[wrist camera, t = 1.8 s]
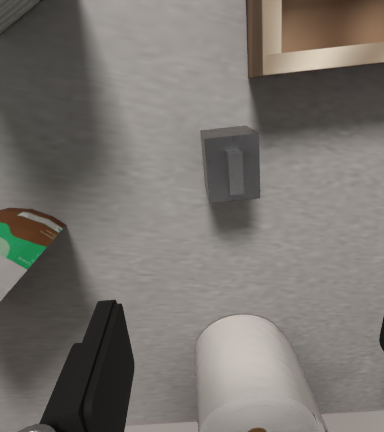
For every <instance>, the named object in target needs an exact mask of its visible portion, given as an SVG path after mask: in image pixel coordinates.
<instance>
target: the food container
mask: <svg viewBox="0 0 384 432" xmlns="http://www.w3.org/2000/svg"><path fill="white" fill-rule="evenodd" d="M65 226H66V225H65V224H64V223H62V222H61V221H59V220H57V219H56V218H54V217H53V216H50V215H47V214H44V213H41V212H38V211H35V210H33V209H22V208H7V209H3V210H0V301H1V300H2V299H3V298H4V297H5V295H6V294H7V293H8V292H9V291H10V290H11V288H12V287H13V286H14V285H15V284H16V283H17V282H18V280H19V279H20V278H21V277H22V276H23V275H24V273H25V272H26V271H27V270H28V269H29V268H30V266H31V265H32V264H33V263H34V262H35V261H36V260H37V258H38V257H39V256H40V255H41V254H42V253H43V251H44V250H45V249H46V248H47V247H48V246H49V245H50V243H51V242H52V241H53V240H54V239H55V238H56V236H57V235H58V234H59V233H60V232H61V231H62V230H63V228H64V227H65Z"/></svg>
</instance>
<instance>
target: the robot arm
mask: <svg viewBox="0 0 384 432" xmlns="http://www.w3.org/2000/svg"><path fill="white" fill-rule="evenodd" d="M379 341H380V345H381V348H382V349H383V351H384V318H383V323H382V328H381V333H380V339H379ZM133 375H134V358H133V354H132V349H131V344H130V339H129V335H128V330H127V325H126V321H125V316H124V311H123V307H122V304H117V302H116V300H107V301H99V302H98V303H97V305H96V308H95V310H94V313H93V315H92V318H91V321H90V323H89V326H88V328H87V331H86V334H85V336H84V339H83V341H82V343H75V344H74V345H73V346H72V348H71V350H70V352H69V354H68V357H67V359H66V362H65V364H64V366H63V369H62V371H61V373H60V376H59V378H58V381H57V383H56V385H55V388H54V390H53V392H52V395H51V397H50V400H49V402H48V404H47V407H46V409H45V411H44V414H43V416H42V419H41V421H40V423H39V424H35V425H32V426H28V427H26V428H24V429H22V430H20V431H19V432H124V429H125V423H126V417H127V411H128V405H129V399H130V393H131V387H132V381H133Z"/></svg>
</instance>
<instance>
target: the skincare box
mask: <svg viewBox="0 0 384 432" xmlns="http://www.w3.org/2000/svg"><path fill="white" fill-rule="evenodd" d="M39 1H40V0H0V33H1V32H2V31H4V30H5V29H6V28H7V27H9V26H10V25H11V24H13V23H14V22H15V21H16V20H18V19H19V18H20V17H21V16H23V15H24V14H25V13H26V12H28V11H29V10H30V9H31V8H32V7H33V6H35V5H36V4H37V3H38V2H39Z"/></svg>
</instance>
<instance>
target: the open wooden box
mask: <svg viewBox="0 0 384 432" xmlns="http://www.w3.org/2000/svg"><path fill="white" fill-rule="evenodd" d="M246 14H247V49H248V78H251V77H260V76H269V75H278V74H287V73H296V72H306V71H315V70H324V69H333V68H342V67H351V66H360V65H370V64H379V63H384V0H246Z"/></svg>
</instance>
